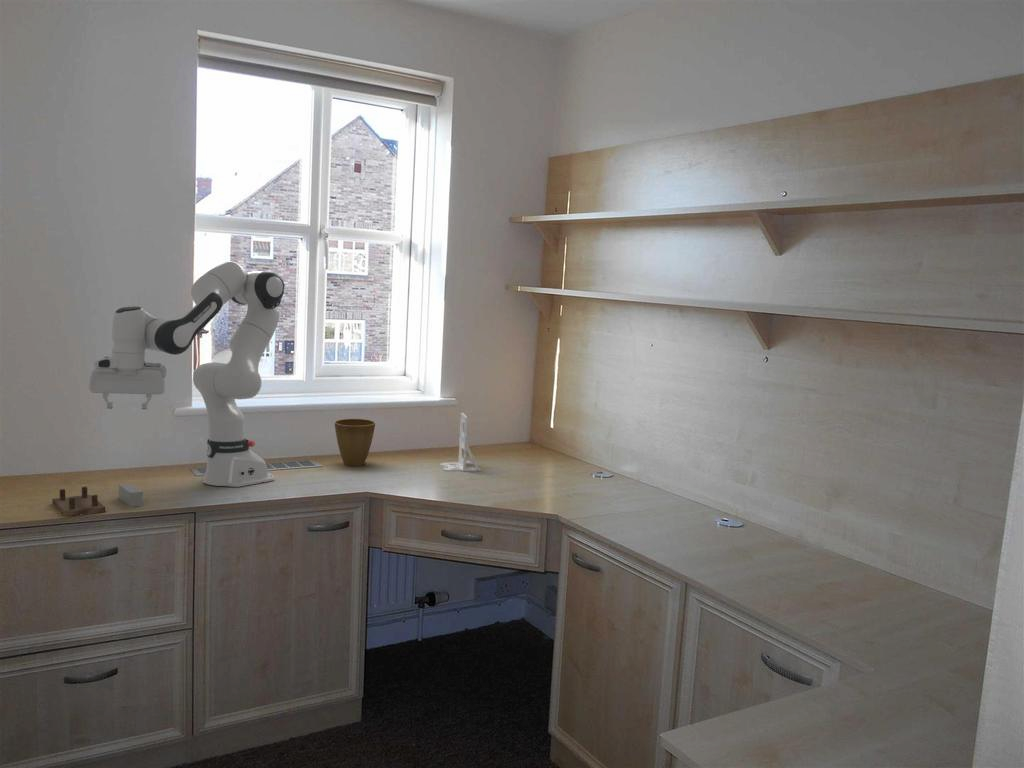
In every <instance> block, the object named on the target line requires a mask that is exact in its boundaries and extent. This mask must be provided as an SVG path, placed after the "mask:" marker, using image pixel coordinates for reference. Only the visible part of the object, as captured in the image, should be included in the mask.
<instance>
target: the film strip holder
mask: <svg viewBox="0 0 1024 768" xmlns="http://www.w3.org/2000/svg"><path fill="white" fill-rule="evenodd" d="M468 418H469V417H467V415H466V414H465V413H464V412H460V418H459V443H458V446H459V447H458V462H457V461H455V462H453V461H452V462H442V463H440V466H441V467H443V468H442V470H443V471H445V472H467V473H469V472H473V473H474V472H481V468H479V465H478V463H477V462H476V459H475V457H474V455H473V453H472V451H471V448H470V446H469V443H468V431H469V430H468V428H469V427H468V426H469V425H468V421H469V420H468ZM467 454H468V455H469V458H470V460H471V461H470V460H467ZM467 465H474V466H475V467H469V468H467Z"/></svg>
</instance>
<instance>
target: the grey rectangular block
mask: <svg viewBox="0 0 1024 768" xmlns="http://www.w3.org/2000/svg"><path fill="white" fill-rule="evenodd" d="M119 498H120V499H119ZM118 499H119V500H120V501H122V502H123V501H124V502H125V504H126V506H128V505H129V506H130V507H129V506H128V507H129V508H134V507H133V506H137V507H142V506H143V507H144V504H143V503H144V501H143V500H144V495H143V490H141V489H140V488H138V487H137V486H135V485H134V484H133V483H131V482H129V483H127V482H126V483H120V484H119V483H118ZM124 502H123V503H124Z"/></svg>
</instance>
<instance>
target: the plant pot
mask: <svg viewBox="0 0 1024 768" xmlns="http://www.w3.org/2000/svg"><path fill="white" fill-rule="evenodd" d="M375 426H376V421H374V420H370V419H365V418H343V419H338V420H334V429H335V436H336V442H337V446H338V450H339V452H340V457H341V459H342V461H343V464H344V465H345V466H347V465H348V466H347V467H360V466H364V465H365V463H366V460H367V458H368V455H369V452H370V449H371V447H372V446H371V445H372V442H373V439H374V434H375V428H376V427H375Z"/></svg>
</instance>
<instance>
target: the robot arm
mask: <svg viewBox="0 0 1024 768" xmlns="http://www.w3.org/2000/svg"><path fill="white" fill-rule="evenodd" d="M284 293H285V282H284V280H283V278H282V276H281V275H279V273H276V272H274V271H270V270H263V271H261V270H257V271H248V272H246V271H245V269H244V268H243V267H242V266H241V265H240V264H239V263H237V262H235V261H225V262H223V263H221V264H218V265H216V266H215V267H212V268H211V269H210V270H208V271H207V272H205V273H203V275H202V276H200V277H198V278H197V279H196V281H195V282H194V283H193V284H192V286H191V288H190V295H191V298H192V300H193V302H194V304H195V305H194V306H193V307H192V308H191V309H190V310H189V311H188V312H186V313H185V314H184V315H183V316H182V317H180V318H177V319H161V318H158V317H156V316H154V315H151V314H150V313H149V312H147V311H146V310H144V308H143V307H141V306H125V307H120V308H118V309H117V310H115V312H114V315H113V318H112V319H113V320H112V325H111V326H112V328H111V330H112V332H111V339H112V343H113V345H112V348H111V356H105V357H102V358H98V359H96V360H95V361H93V362H94V364H93V365H94V368H93V370H92V371H91V374H90V378H89V384H88V390H89V392H91V393H92V394H102V398H103V400H104V401H105V403H106V410H107V409H109V410H110V409H113V408H114V402H113V401H110V399H109V396H110V394H122V395H123V394H125V395H126V394H128V395H130V394H131V395H132V394H133V395H134V394H135V395H145V398H147V399H146V401H145V402H142V403H141V410H148V408H149V402H150V401H151V400H152V398H153V395H163V394H164V393H165V391H166V385H165V378H166V376H167V368H166V366H165V365H163V364H162V363H159V362H155V363H153V362H145V360H146V359H145V358H146V357H145V356H146V353H145V351H146V350H150V351H155V352H161V353H165V354H170V355H175V356H176V355H180V354H184V353H185V352H186V351H187V350H188V349H189V348H190V346H191V345H192V343H193V341H194V339H195V338H196V336H197V335H198V334H199V333H200V332H201V331H202V330H203V329H204V327H206V326H207V325H208V324H209V322H211V320H213V319H214V317H216V316H217V314H219V312H220V311H221V309H222V308H223V306H224V305H225V304H227V303H228V302H229V301H231V300H232V301H233V303H236V304H238V305H242V306H245V305H247V311H246V314H245V316H244V317H243V318H242V320H241V322H240V324H239V325H238V326H237V329H236V330H235V332H234V333H233V335H232V337H231V339H230V340H229V342H228V343H229V344H228V345H229V346H228V347H229V349H230V351H231V357H230V360H229V361H228V362H227V363H223V362H218V361H217V362H215V361H213V362H207V363H203V364H200V365H198V366H197V368H195V370H194V372H193V376H192V381H193V385H194V386H195V388H196V389H197V391H198V392H199V393H200V395H201V396H202V399H203V402H204V405H205V408H206V412H207V418H208V419H207V420H208V421H207V422H208V439H207V441H206V442H207V443H206V444H207V445H206V456H207V462H206V468H205V473H204V478H203V480H202V482H203V483H204V484H206V485H210V486H217V487H218V486H219V487H232V488H239V487H245V486H252V485H256V484H262V482H263V483H266V482H267V483H269V482H273V481H275V476H274V475H273V474H272V473H271V472H268V466H267V463H266V461H265V459H263V458H262V457H261V456H259V455H258V454H257V453H255V452H254V451H252V450H251V449H250V448H253V447H254V446H255V445H256V442H255V441H254V440H251V439H250V440H249V439H247V438H246V437H245V416H244V414H243V412H242V411H241V410H240V409H239V407H238V405H237V403H236V400H247V399H253V398H254V397H256V396H257V395H258V393H259V392H260V391H261V388H262V378H261V374H260V373H259V365H260V362H261V358H262V356H263V355H264V352H265V351H266V348H267V347H268V345H269V343H270V341H271V340H272V338H273V335H274V333H275V332H276V329H277V327H278V324H279V320H280V312H279V311H278V307H279V306H280V304H281V302H282V301H281V300H282V298H283V297H284Z"/></svg>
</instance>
